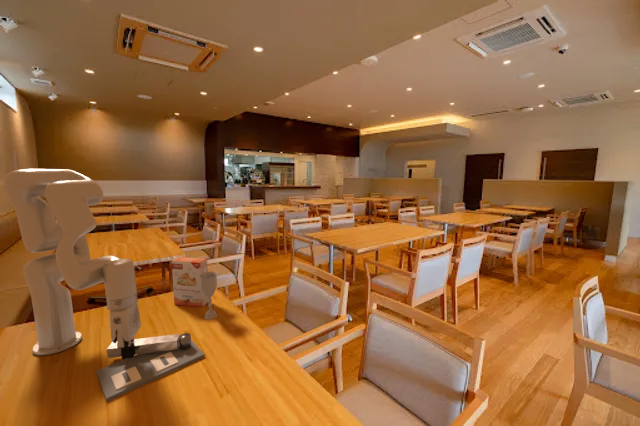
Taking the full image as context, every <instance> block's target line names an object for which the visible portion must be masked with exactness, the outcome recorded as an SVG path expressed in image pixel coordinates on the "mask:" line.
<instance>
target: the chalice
mask: <svg viewBox="0 0 640 426" xmlns="http://www.w3.org/2000/svg"><path fill="white" fill-rule="evenodd" d="M217 277H218V272H216V271H208V272H206V273H203V274H201V275H200V278H201V288H202V290H203V292H204V294H205V295H206V297H208V298H209V300H208V305H207V307H208V310H207V311H206V312H205V314H204V319H205V320H214V319H215V318H217V317H218V314H217V312H216V310H215V309H213V308H212V306H213V303H212V297H213V296H214V294H215V292H216V290H217V286H218V280H217V279H218V278H217Z"/></svg>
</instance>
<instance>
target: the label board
mask: <svg viewBox="0 0 640 426" xmlns="http://www.w3.org/2000/svg"><path fill="white" fill-rule="evenodd" d="M203 358H206V357H205V353H204V352H203V350H201V348H200V347H198V345H197V344H195V342H194V341H193V340H192V339H191V347H190V348H188V349H186V350H181V349H180V347H179V346H178V349H174V350H166V351H159V352H151V353H144V354H136V355H134V357H133V358H127V359H121V360H119V361H117V362H115V363H111V364H109V365H106V366H104V367H101V368H99V369H96V375H97V378H98V381H99V383H100V387H101V389H102V393H103V395H104V399H105V402H106V403H107V402H108V403H109V401H112V400H114V399H116V398H118V397H120V396H123V395H125V394H127V393H129V392H131V391H133V390H136V389H138V388H141V387H142V386H144V385H147V384H149V383H151V382H153V381H155V380H157V379H160V378H161V377H164V376H166V375H168V374H170V373H173V372H175V371H177V370H179V369H181V368H184V367H186V366H188V365H190V364H193V363H194V362H196V361H199V360H200V359H203Z"/></svg>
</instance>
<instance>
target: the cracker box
mask: <svg viewBox="0 0 640 426" xmlns="http://www.w3.org/2000/svg"><path fill="white" fill-rule="evenodd" d="M206 272H209V271H208V259H207V258H197V257H183V256H179V257H176V258H174V259H172V260H171V273H172V274H171V275H172V286H173V289H172V290H173V302H174V305H175V306H176V305H178V306H188V307H199V308H203V307H205V306H206V305H207V304H209V302H208V300H209V298H208V297H206V295H205V294H204V292H203V290H202V288H201V278H200V275H201V274H203V273H206Z"/></svg>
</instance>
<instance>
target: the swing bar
mask: <svg viewBox="0 0 640 426" xmlns="http://www.w3.org/2000/svg"><path fill="white" fill-rule="evenodd" d="M191 335H192V334H191V333H190V332H185V333H182V334H180V333H175V334H166V335H158V336H151V337H143V338H134V342H132V343H134V345H135V355H137V354H144V353H151V352H159V351H166V350H174V349H178V346H179V347H180V349H181V350H186V349H188V348H190V347H191V340H192V337H191ZM105 350H106V358H107V359H111V358H120V357H121V358H122V356H121V348H117V342H116V343H113V342H111V343H110V344H109V345H108V347H107V348H106V349H105ZM135 355H134V356H135Z"/></svg>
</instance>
